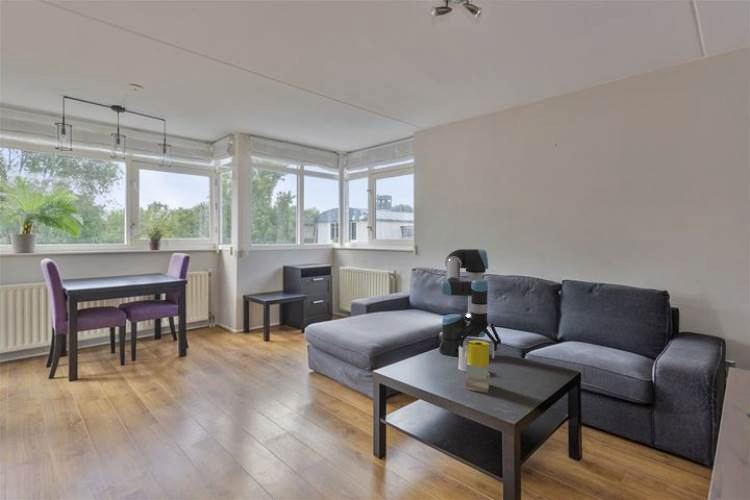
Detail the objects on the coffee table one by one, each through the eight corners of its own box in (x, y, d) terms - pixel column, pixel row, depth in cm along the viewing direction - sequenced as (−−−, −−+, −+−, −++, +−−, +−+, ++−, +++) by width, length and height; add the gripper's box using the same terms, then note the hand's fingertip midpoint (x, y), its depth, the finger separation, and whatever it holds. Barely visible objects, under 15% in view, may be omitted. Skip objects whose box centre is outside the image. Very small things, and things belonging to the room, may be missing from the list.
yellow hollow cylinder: (485, 367, 172) (485, 348, 172) (464, 363, 178) (464, 344, 177) (491, 361, 181) (491, 342, 180) (471, 357, 186) (471, 339, 186)
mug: (472, 374, 195) (472, 352, 194) (456, 372, 198) (456, 350, 197) (475, 367, 205) (475, 346, 205) (459, 365, 209) (459, 344, 208)
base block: (468, 381, 186) (468, 370, 186) (489, 385, 182) (489, 373, 182) (465, 389, 177) (465, 377, 176) (487, 393, 173) (487, 380, 173)
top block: (469, 370, 185) (469, 358, 185) (488, 373, 182) (488, 361, 181) (466, 376, 177) (466, 364, 177) (485, 379, 173) (485, 367, 173)
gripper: (451, 311, 179) (451, 354, 180) (506, 316, 170) (505, 361, 171) (454, 308, 186) (454, 350, 187) (507, 312, 177) (506, 356, 178)
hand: (478, 355), depth 179 cm, fingers open, 13 cm apart
